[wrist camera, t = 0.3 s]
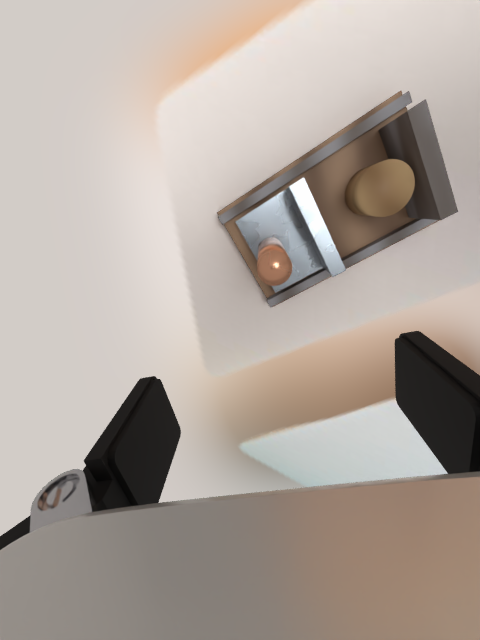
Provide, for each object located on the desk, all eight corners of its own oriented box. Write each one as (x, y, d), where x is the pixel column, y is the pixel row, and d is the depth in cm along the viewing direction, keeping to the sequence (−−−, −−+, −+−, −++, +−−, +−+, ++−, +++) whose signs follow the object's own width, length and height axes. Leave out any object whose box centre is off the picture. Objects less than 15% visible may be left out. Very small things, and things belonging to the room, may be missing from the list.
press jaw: (296, 182, 30) (314, 169, 20) (332, 259, 33) (365, 284, 23) (236, 221, 32) (223, 228, 22) (275, 290, 35) (280, 325, 25)
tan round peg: (382, 156, 29) (404, 146, 24) (397, 199, 30) (421, 198, 26) (337, 183, 30) (351, 179, 25) (354, 223, 31) (370, 226, 27)
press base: (394, 96, 28) (437, 59, 21) (433, 219, 32) (480, 222, 25) (218, 212, 34) (207, 213, 27) (271, 303, 38) (274, 325, 31)
